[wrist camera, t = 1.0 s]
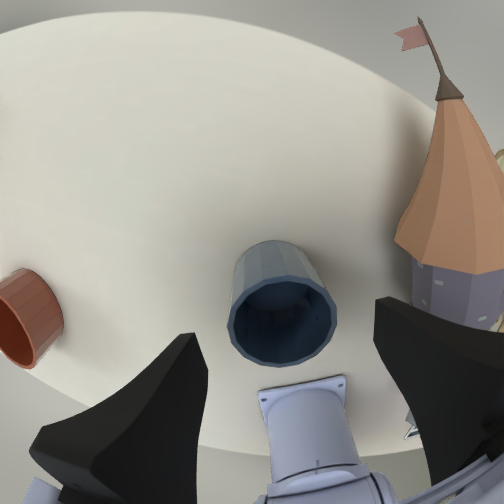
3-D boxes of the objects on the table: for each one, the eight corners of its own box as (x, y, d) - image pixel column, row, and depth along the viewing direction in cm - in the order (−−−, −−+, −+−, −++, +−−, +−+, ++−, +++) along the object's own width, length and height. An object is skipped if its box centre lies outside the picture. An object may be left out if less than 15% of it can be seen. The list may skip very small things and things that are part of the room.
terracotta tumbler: (76, 340, 20) (50, 372, 16) (30, 340, 21) (7, 365, 16) (43, 262, 18) (6, 285, 13) (1, 274, 18) (-29, 293, 14)
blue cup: (315, 304, 19) (337, 356, 14) (242, 317, 19) (240, 373, 14) (307, 233, 18) (334, 265, 12) (226, 248, 18) (216, 286, 12)
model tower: (503, 380, 15) (507, 24, 5) (434, 458, 13) (424, -41, 3) (445, 342, 24) (413, 47, 14) (375, 400, 22) (303, 38, 12)
